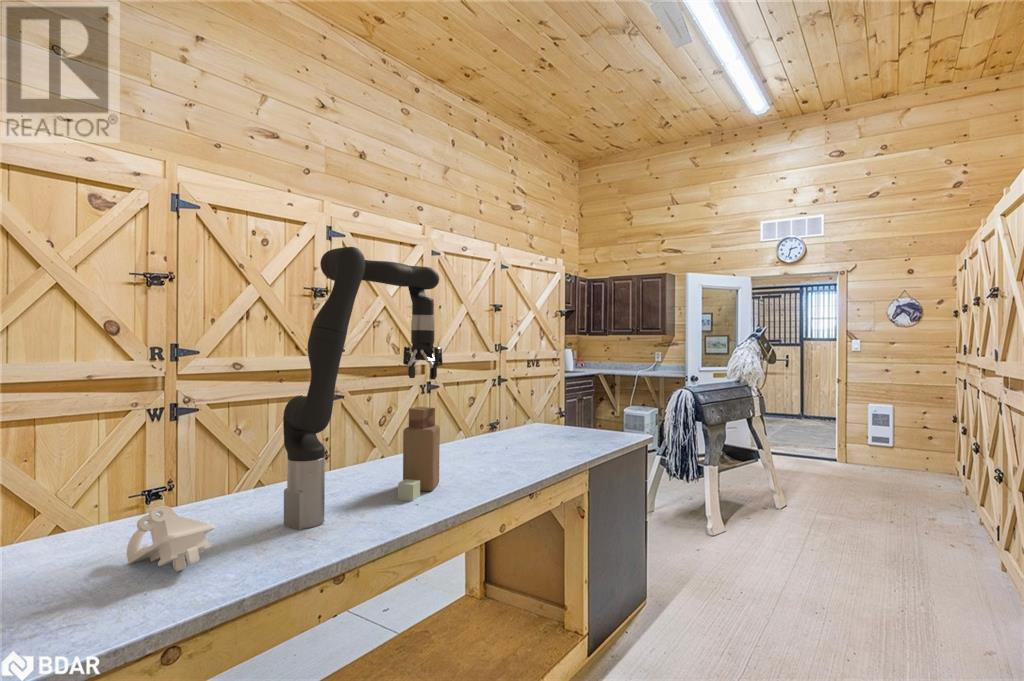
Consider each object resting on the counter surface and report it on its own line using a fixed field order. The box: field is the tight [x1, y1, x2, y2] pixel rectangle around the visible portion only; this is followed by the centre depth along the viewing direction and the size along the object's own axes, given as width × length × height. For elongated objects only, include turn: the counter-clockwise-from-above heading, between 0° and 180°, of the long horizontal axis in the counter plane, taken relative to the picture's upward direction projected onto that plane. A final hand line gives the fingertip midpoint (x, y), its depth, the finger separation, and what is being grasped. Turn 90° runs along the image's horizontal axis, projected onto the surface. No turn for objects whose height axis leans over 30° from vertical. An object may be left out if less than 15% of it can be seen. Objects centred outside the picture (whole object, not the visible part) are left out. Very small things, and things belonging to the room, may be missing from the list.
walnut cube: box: [408, 406, 436, 429], centre depth 175 cm, size 6×6×6 cm
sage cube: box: [397, 479, 421, 502], centre depth 164 cm, size 5×5×5 cm
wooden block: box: [402, 424, 441, 492], centre depth 175 cm, size 10×10×20 cm
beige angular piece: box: [126, 505, 216, 572], centre depth 114 cm, size 20×11×13 cm, turn 55°
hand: (422, 378), depth 175 cm, fingers open, 8 cm apart
